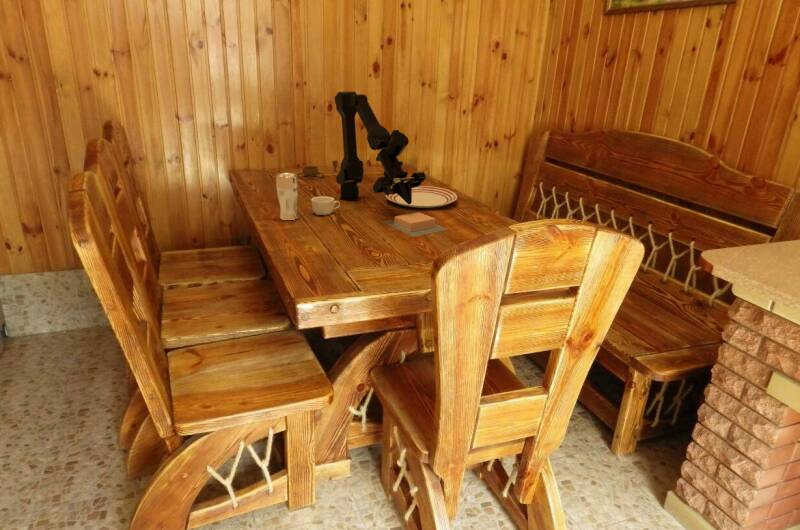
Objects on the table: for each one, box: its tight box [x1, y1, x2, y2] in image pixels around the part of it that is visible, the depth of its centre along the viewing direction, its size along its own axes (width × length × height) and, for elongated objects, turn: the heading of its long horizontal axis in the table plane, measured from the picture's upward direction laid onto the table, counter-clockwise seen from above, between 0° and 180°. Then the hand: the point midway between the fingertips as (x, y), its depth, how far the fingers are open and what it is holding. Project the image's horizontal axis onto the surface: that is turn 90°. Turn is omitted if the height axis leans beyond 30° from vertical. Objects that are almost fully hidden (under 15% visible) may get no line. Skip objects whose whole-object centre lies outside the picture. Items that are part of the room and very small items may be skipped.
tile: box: [394, 211, 436, 232], centre depth 177 cm, size 3×10×9 cm
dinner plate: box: [385, 185, 458, 209], centre depth 206 cm, size 27×27×3 cm
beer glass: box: [275, 172, 299, 221], centre depth 180 cm, size 7×7×15 cm
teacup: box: [310, 195, 341, 216], centre depth 188 cm, size 10×8×5 cm
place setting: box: [296, 160, 339, 179], centre depth 243 cm, size 18×20×6 cm
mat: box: [382, 219, 449, 238], centre depth 177 cm, size 18×14×1 cm
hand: (410, 203), depth 177 cm, fingers closed
